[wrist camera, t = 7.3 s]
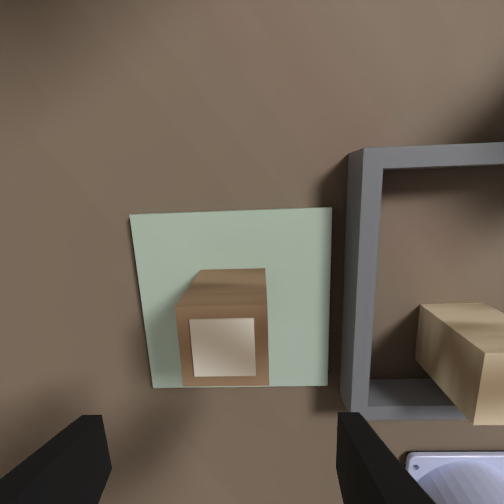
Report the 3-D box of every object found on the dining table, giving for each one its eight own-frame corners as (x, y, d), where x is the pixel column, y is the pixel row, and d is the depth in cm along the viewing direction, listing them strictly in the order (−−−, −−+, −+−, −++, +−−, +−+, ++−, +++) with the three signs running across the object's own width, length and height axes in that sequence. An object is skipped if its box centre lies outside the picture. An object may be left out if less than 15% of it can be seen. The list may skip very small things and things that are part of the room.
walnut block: (266, 327, 18) (269, 387, 13) (205, 328, 19) (182, 388, 13) (265, 268, 17) (267, 305, 12) (200, 269, 18) (174, 307, 12)
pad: (325, 379, 20) (327, 385, 19) (156, 382, 20) (153, 388, 20) (329, 206, 17) (332, 207, 16) (133, 213, 18) (129, 214, 17)
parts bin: (544, 389, 20) (585, 418, 17) (339, 391, 20) (350, 420, 18) (601, 142, 16) (663, 135, 13) (348, 153, 16) (363, 148, 14)
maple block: (474, 357, 19) (557, 424, 14) (414, 358, 19) (472, 425, 14) (483, 302, 18) (575, 351, 13) (420, 304, 18) (485, 353, 13)
